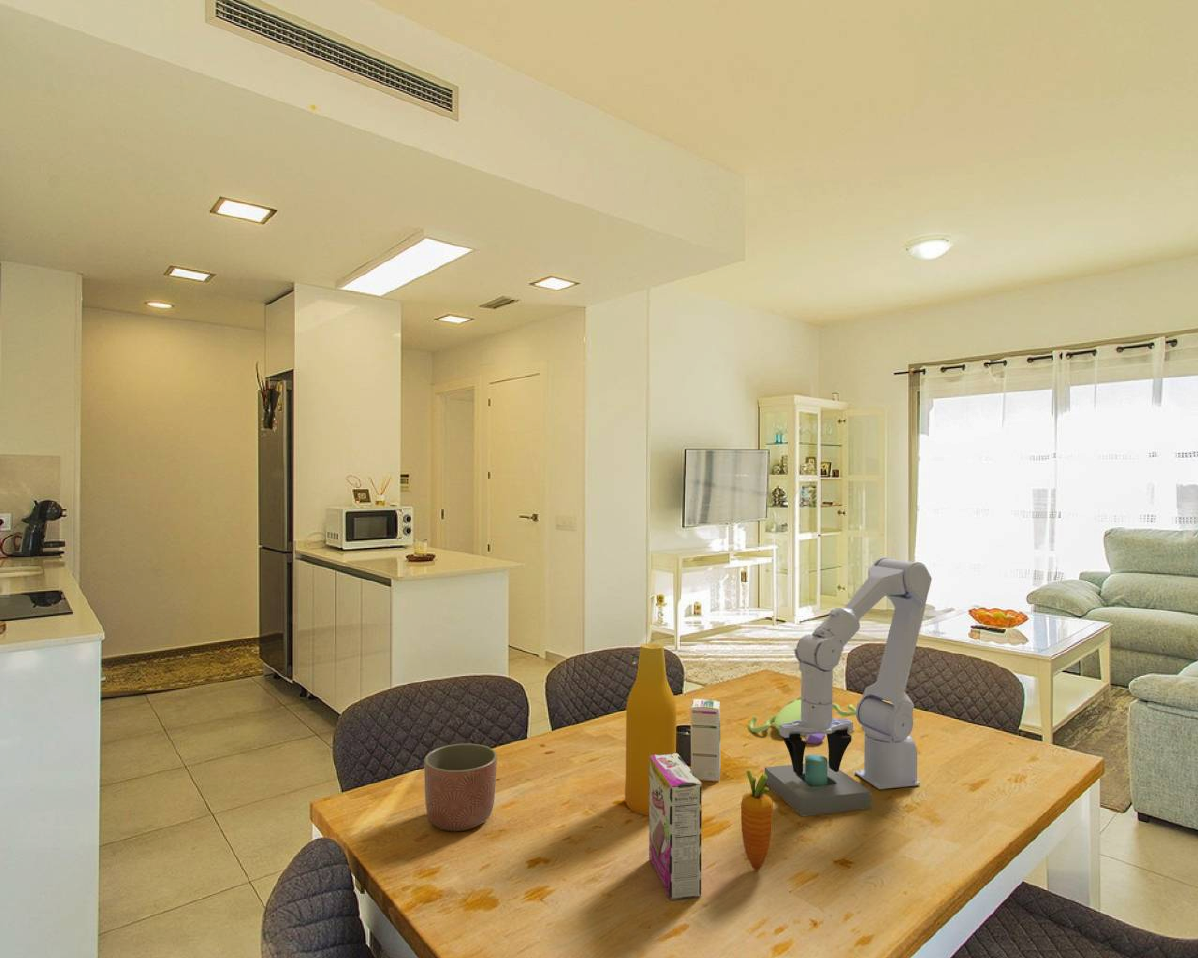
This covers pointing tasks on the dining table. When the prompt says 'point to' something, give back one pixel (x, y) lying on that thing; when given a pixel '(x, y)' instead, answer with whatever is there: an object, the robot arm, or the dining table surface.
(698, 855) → the candy bar box
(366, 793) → the dining table surface
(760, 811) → the carrot
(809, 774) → the peg
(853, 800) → the socket
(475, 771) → the planter
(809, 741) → the figurine
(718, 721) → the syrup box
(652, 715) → the beer bottle
